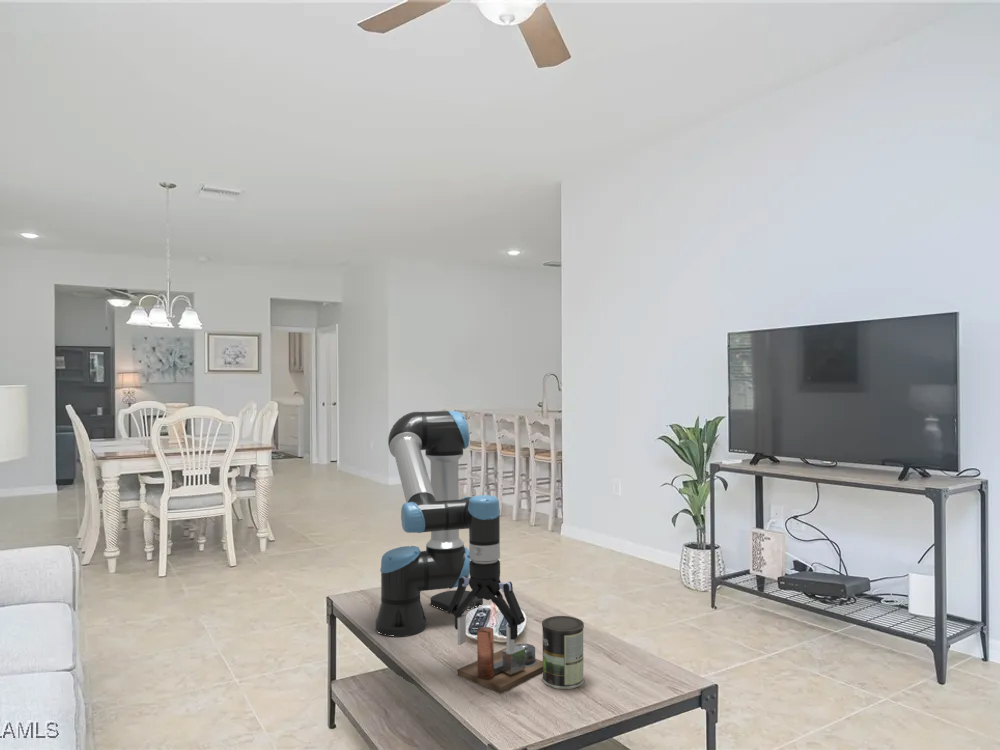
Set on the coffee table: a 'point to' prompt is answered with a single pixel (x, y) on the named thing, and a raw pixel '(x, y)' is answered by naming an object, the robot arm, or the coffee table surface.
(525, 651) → the lever
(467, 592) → the media streaming box
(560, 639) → the coffee can
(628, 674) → the coffee table surface
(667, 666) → the coffee table surface
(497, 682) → the board
